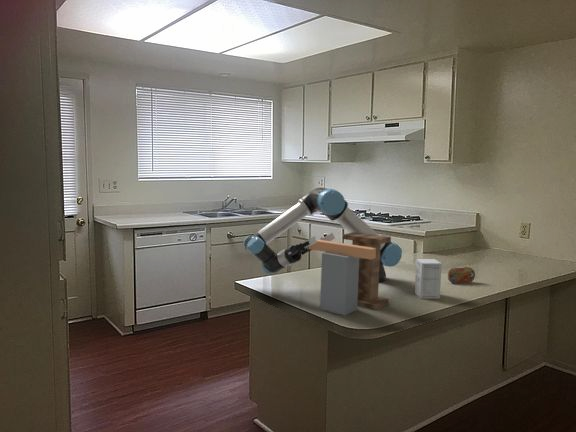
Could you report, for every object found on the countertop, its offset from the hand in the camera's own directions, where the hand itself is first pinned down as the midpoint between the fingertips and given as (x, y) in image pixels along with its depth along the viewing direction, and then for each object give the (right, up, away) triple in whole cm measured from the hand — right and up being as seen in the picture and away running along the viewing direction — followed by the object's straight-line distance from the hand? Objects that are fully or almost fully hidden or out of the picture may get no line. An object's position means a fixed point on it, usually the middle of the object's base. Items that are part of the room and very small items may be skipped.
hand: (324, 237), depth 204 cm
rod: (+6, -6, -4) cm, 10 cm away
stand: (+18, -29, +9) cm, 36 cm away
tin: (+75, -26, +48) cm, 93 cm away
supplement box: (+50, -29, +22) cm, 61 cm away
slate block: (+6, -30, -1) cm, 31 cm away
